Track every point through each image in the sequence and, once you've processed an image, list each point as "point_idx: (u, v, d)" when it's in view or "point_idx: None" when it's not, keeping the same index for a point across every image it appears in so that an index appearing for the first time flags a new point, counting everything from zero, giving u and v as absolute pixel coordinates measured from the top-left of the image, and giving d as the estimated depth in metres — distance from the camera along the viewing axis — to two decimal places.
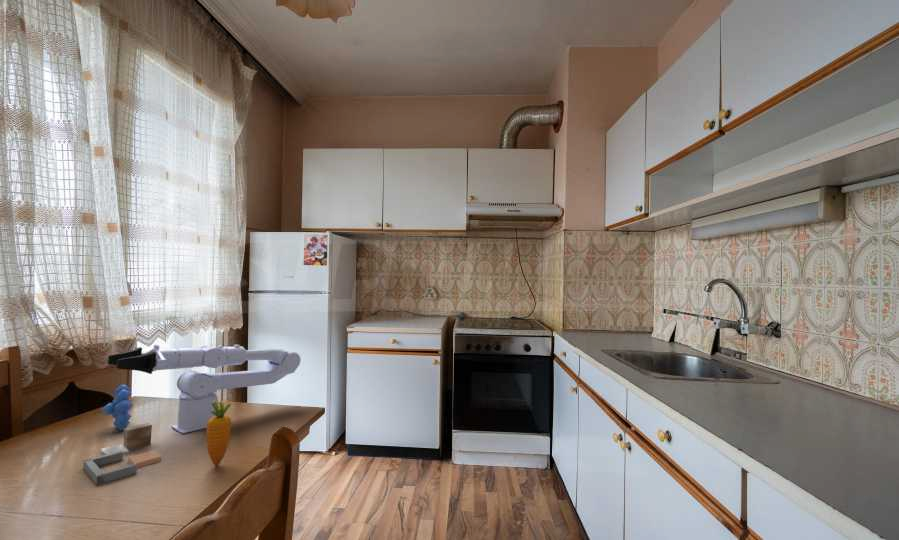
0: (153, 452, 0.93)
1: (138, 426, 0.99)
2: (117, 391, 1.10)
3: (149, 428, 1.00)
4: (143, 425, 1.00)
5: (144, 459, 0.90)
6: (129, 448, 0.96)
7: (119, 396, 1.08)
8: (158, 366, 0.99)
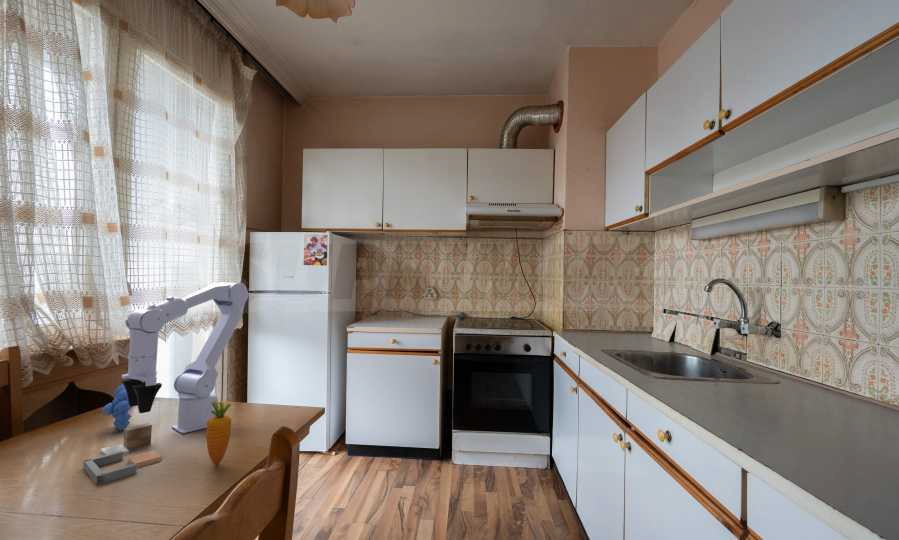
0: (153, 452, 0.93)
1: (138, 426, 0.99)
2: (117, 391, 1.10)
3: (149, 428, 1.00)
4: (143, 425, 1.00)
5: (144, 459, 0.90)
6: (129, 448, 0.96)
7: (119, 396, 1.08)
8: (154, 383, 0.95)
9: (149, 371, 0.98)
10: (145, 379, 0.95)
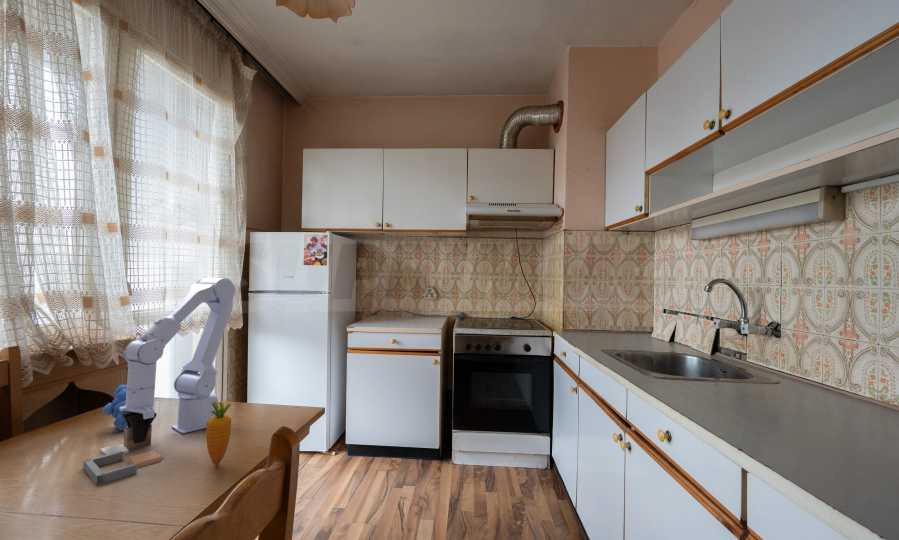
0: (153, 452, 0.93)
1: None
2: (117, 391, 1.10)
3: (149, 428, 1.00)
4: None
5: (144, 459, 0.90)
6: (129, 448, 0.96)
7: (119, 396, 1.08)
8: (152, 416, 0.95)
9: (147, 403, 0.98)
10: (143, 412, 0.94)
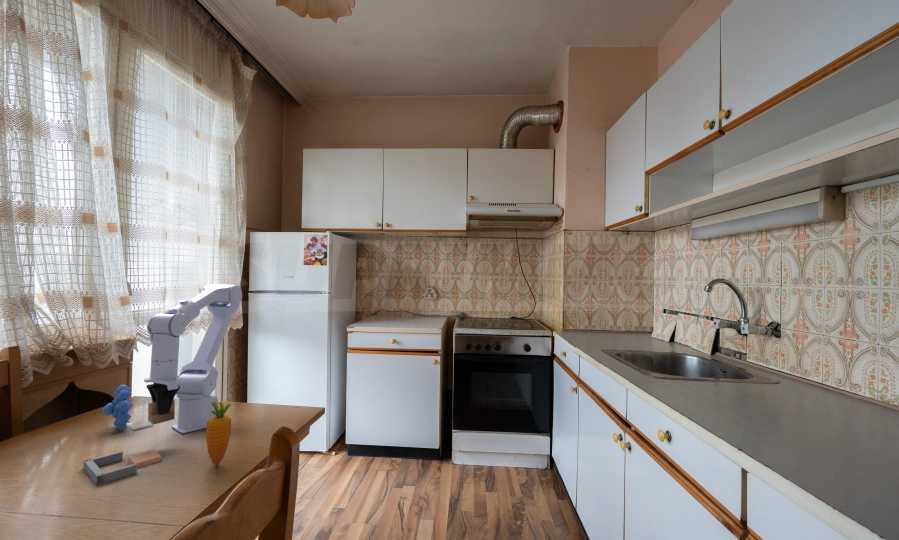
0: (153, 452, 0.93)
1: None
2: (117, 391, 1.10)
3: (172, 403, 1.01)
4: None
5: (144, 459, 0.90)
6: (154, 422, 0.98)
7: (119, 396, 1.08)
8: (176, 387, 0.96)
9: (170, 375, 0.99)
10: (167, 383, 0.95)
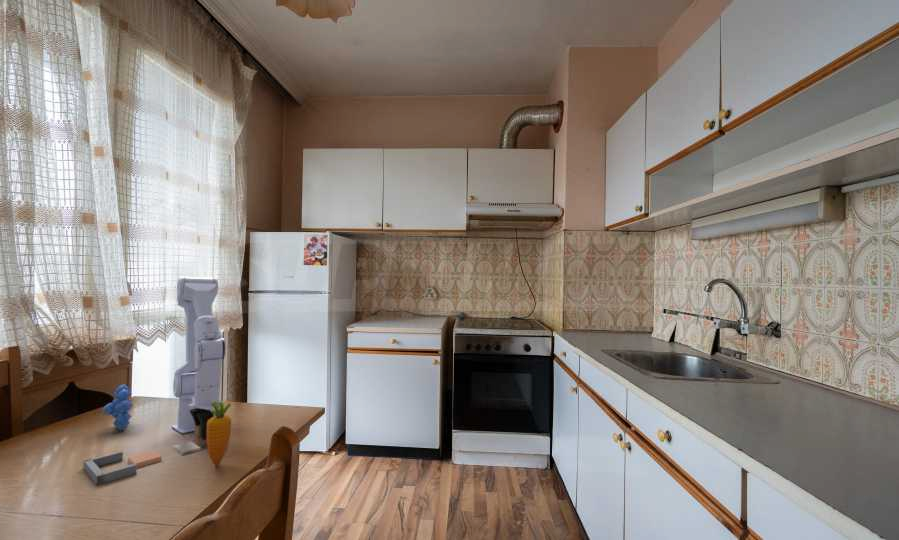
0: (153, 452, 0.93)
1: None
2: (117, 391, 1.10)
3: None
4: None
5: (144, 459, 0.89)
6: (200, 445, 0.99)
7: (119, 396, 1.08)
8: None
9: (214, 400, 1.01)
10: (213, 409, 0.97)
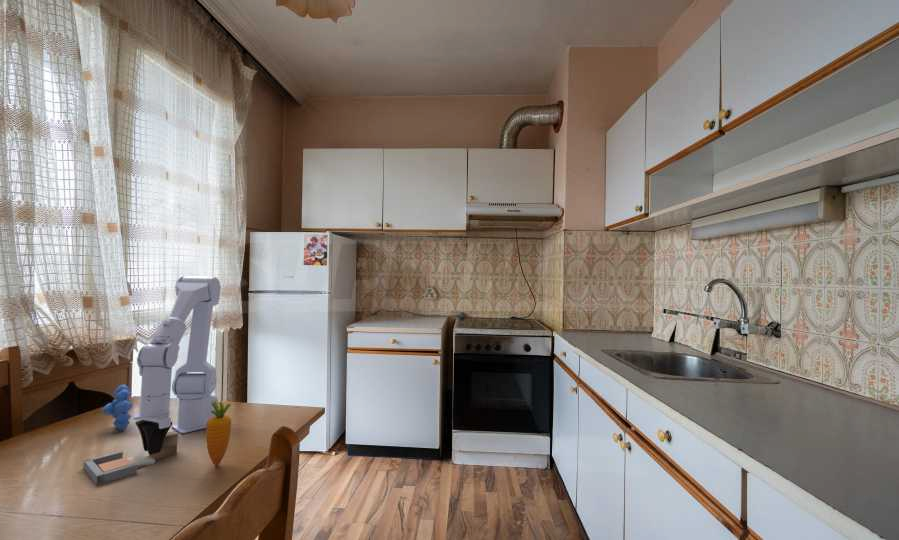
0: (125, 459, 0.89)
1: None
2: (117, 391, 1.10)
3: (175, 436, 0.95)
4: (169, 433, 0.95)
5: (114, 467, 0.85)
6: (155, 458, 0.92)
7: (119, 396, 1.08)
8: (168, 425, 0.89)
9: (162, 411, 0.91)
10: (159, 421, 0.88)
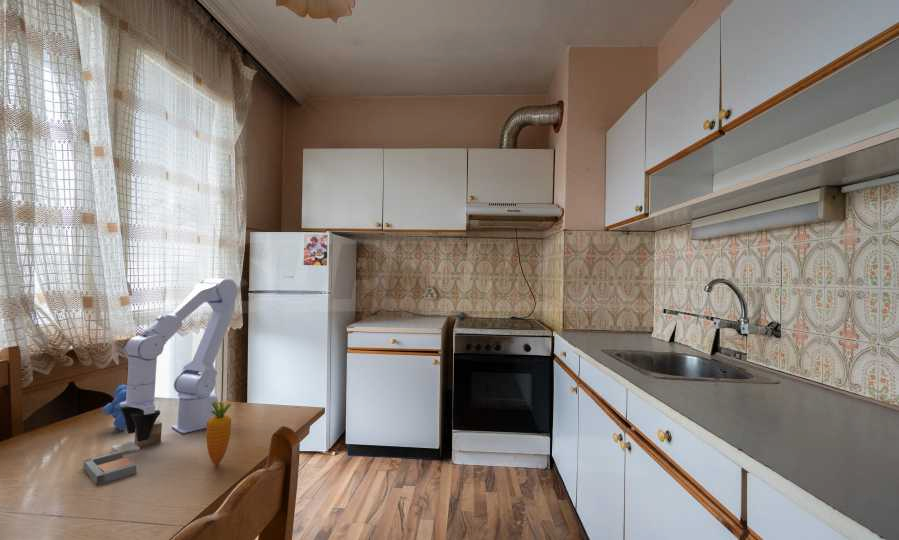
0: (124, 459, 0.89)
1: None
2: (117, 391, 1.10)
3: (159, 426, 1.01)
4: None
5: (115, 467, 0.85)
6: (140, 445, 0.98)
7: (119, 396, 1.08)
8: (153, 411, 0.95)
9: (147, 399, 0.98)
10: (143, 407, 0.94)
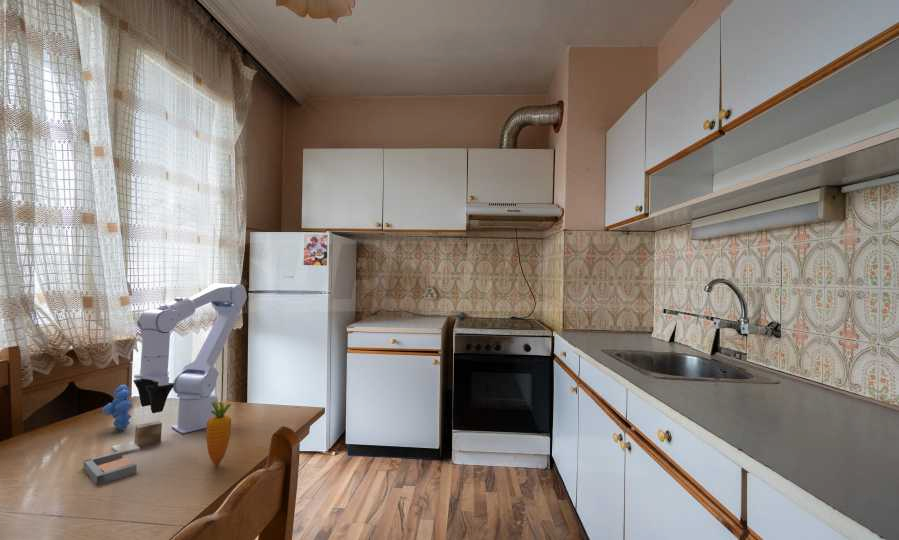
0: (124, 459, 0.89)
1: (148, 424, 1.01)
2: (117, 391, 1.10)
3: (159, 426, 1.01)
4: (153, 423, 1.01)
5: (115, 467, 0.85)
6: (140, 445, 0.98)
7: (119, 396, 1.08)
8: (167, 383, 0.96)
9: (161, 371, 0.99)
10: (158, 379, 0.95)
